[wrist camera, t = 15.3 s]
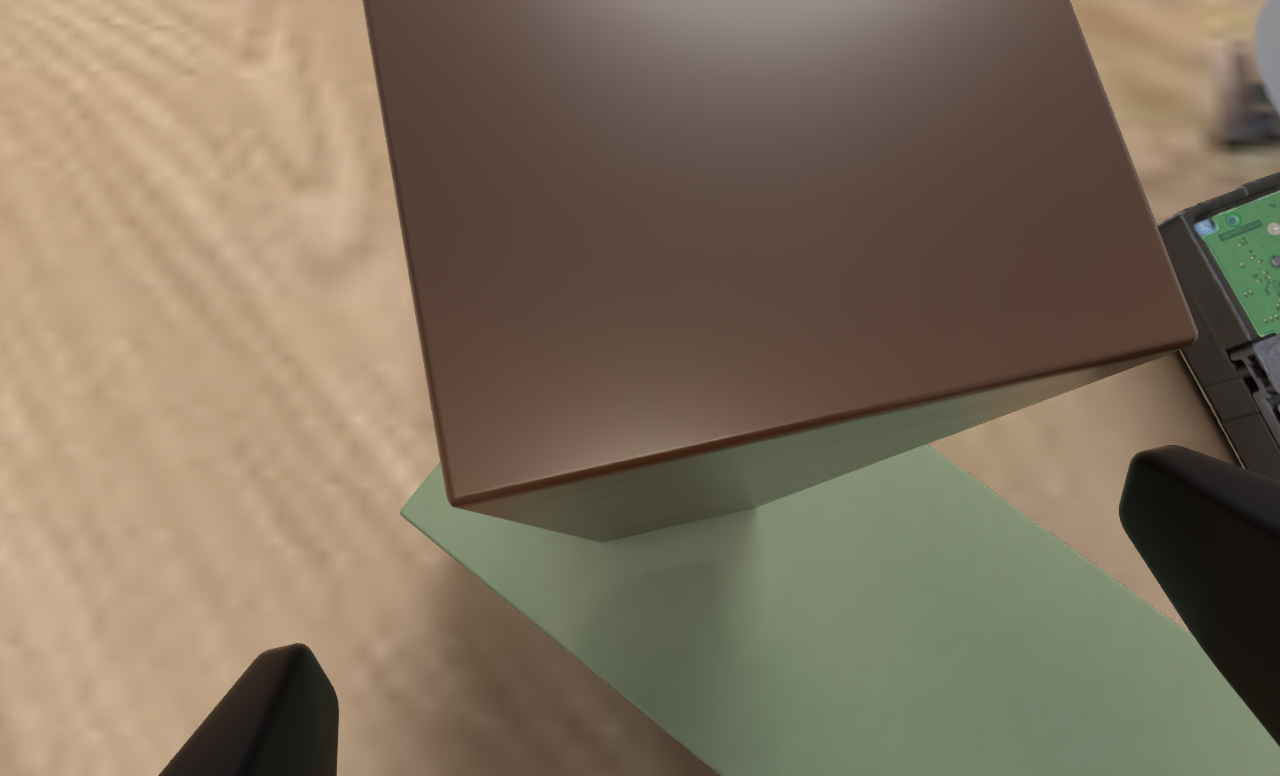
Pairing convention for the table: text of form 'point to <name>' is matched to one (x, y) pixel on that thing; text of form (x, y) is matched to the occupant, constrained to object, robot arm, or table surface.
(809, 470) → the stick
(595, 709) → the table surface
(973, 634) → the sage green box
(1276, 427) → the disk drive
